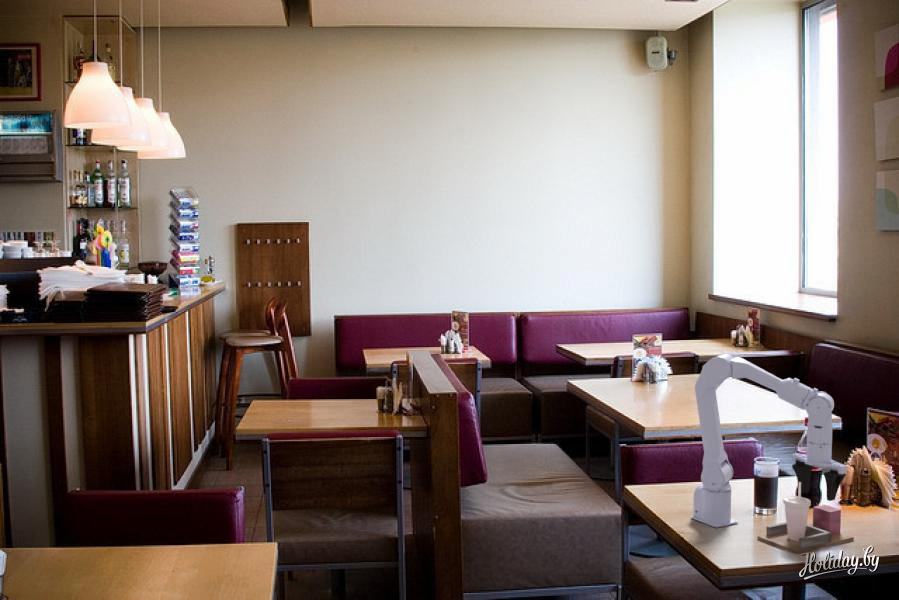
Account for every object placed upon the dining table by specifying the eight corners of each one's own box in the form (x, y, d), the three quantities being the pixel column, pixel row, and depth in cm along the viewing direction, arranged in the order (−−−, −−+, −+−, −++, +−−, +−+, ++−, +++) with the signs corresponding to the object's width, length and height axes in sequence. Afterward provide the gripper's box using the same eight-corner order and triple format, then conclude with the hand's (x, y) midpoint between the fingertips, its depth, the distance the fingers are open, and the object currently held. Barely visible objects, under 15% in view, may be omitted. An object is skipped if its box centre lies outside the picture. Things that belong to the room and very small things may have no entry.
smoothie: (811, 543, 222) (813, 486, 221) (783, 541, 224) (785, 485, 223) (808, 535, 228) (809, 479, 227) (780, 533, 230) (782, 478, 229)
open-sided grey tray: (757, 539, 228) (758, 512, 227) (813, 526, 237) (814, 500, 237) (796, 554, 217) (797, 526, 217) (853, 540, 227) (854, 513, 226)
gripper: (784, 438, 232) (783, 491, 233) (833, 450, 219) (832, 506, 220) (803, 434, 235) (801, 487, 236) (853, 446, 223) (851, 501, 224)
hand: (817, 496), depth 228 cm, fingers open, 7 cm apart
